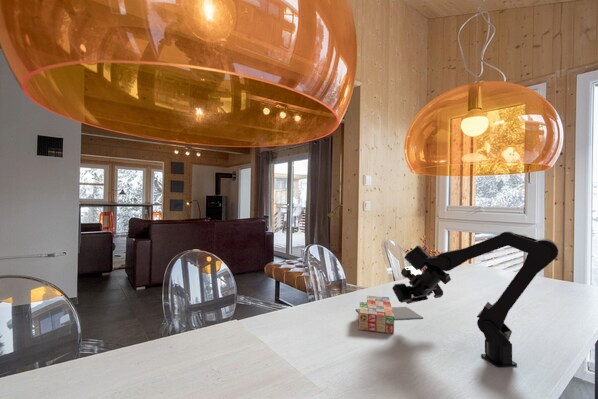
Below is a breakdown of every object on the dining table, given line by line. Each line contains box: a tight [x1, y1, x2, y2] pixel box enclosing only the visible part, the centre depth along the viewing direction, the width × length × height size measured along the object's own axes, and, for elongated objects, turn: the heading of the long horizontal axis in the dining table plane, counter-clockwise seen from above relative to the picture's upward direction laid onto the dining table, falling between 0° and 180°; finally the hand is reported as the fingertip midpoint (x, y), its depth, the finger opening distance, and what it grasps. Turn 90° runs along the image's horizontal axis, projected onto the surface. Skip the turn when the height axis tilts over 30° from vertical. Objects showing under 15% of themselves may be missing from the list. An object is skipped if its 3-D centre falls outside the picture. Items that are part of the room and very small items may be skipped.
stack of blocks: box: [358, 295, 395, 335], centre depth 115 cm, size 21×6×12 cm
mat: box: [355, 306, 424, 321], centre depth 123 cm, size 13×24×1 cm, turn 99°
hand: (407, 302), depth 110 cm, fingers closed
